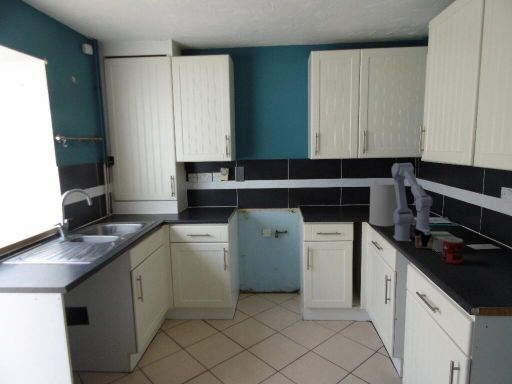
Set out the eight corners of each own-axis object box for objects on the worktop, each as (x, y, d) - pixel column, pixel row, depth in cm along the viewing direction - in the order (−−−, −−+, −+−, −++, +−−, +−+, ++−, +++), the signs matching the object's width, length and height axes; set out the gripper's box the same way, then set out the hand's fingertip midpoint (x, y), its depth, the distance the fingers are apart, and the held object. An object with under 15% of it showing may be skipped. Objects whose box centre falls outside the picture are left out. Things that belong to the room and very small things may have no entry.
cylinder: (398, 226, 217) (400, 184, 213) (371, 225, 221) (372, 184, 217) (393, 220, 234) (394, 181, 230) (367, 219, 238) (368, 181, 234)
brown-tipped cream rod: (414, 246, 174) (415, 235, 173) (442, 247, 172) (443, 236, 171) (416, 248, 172) (416, 236, 171) (444, 248, 170) (445, 237, 169)
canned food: (443, 257, 159) (444, 235, 157) (462, 261, 154) (464, 238, 152) (440, 262, 153) (441, 239, 151) (460, 266, 148) (461, 242, 146)
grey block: (425, 244, 179) (425, 231, 178) (446, 244, 178) (447, 231, 176) (435, 253, 165) (436, 238, 164) (458, 253, 164) (459, 239, 163)
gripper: (436, 222, 163) (435, 249, 165) (425, 216, 177) (424, 240, 179) (421, 222, 164) (420, 248, 166) (412, 216, 178) (411, 240, 180)
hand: (421, 244), depth 173 cm, fingers open, 7 cm apart
